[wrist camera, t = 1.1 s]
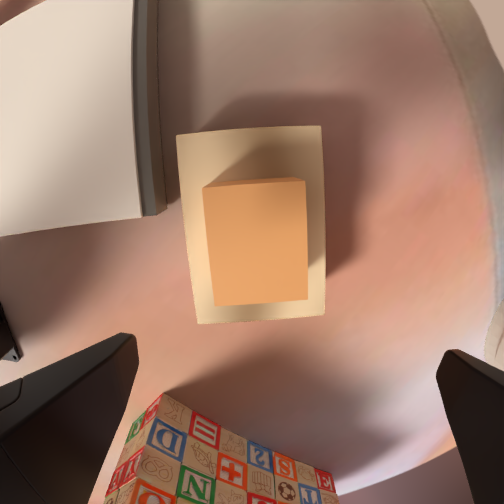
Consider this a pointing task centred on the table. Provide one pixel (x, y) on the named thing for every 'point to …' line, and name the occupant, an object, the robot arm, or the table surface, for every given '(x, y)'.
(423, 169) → the table surface
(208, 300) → the pallet
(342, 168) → the table surface
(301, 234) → the tan cardboard cube
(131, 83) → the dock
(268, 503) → the stack of blocks
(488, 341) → the flag stand
